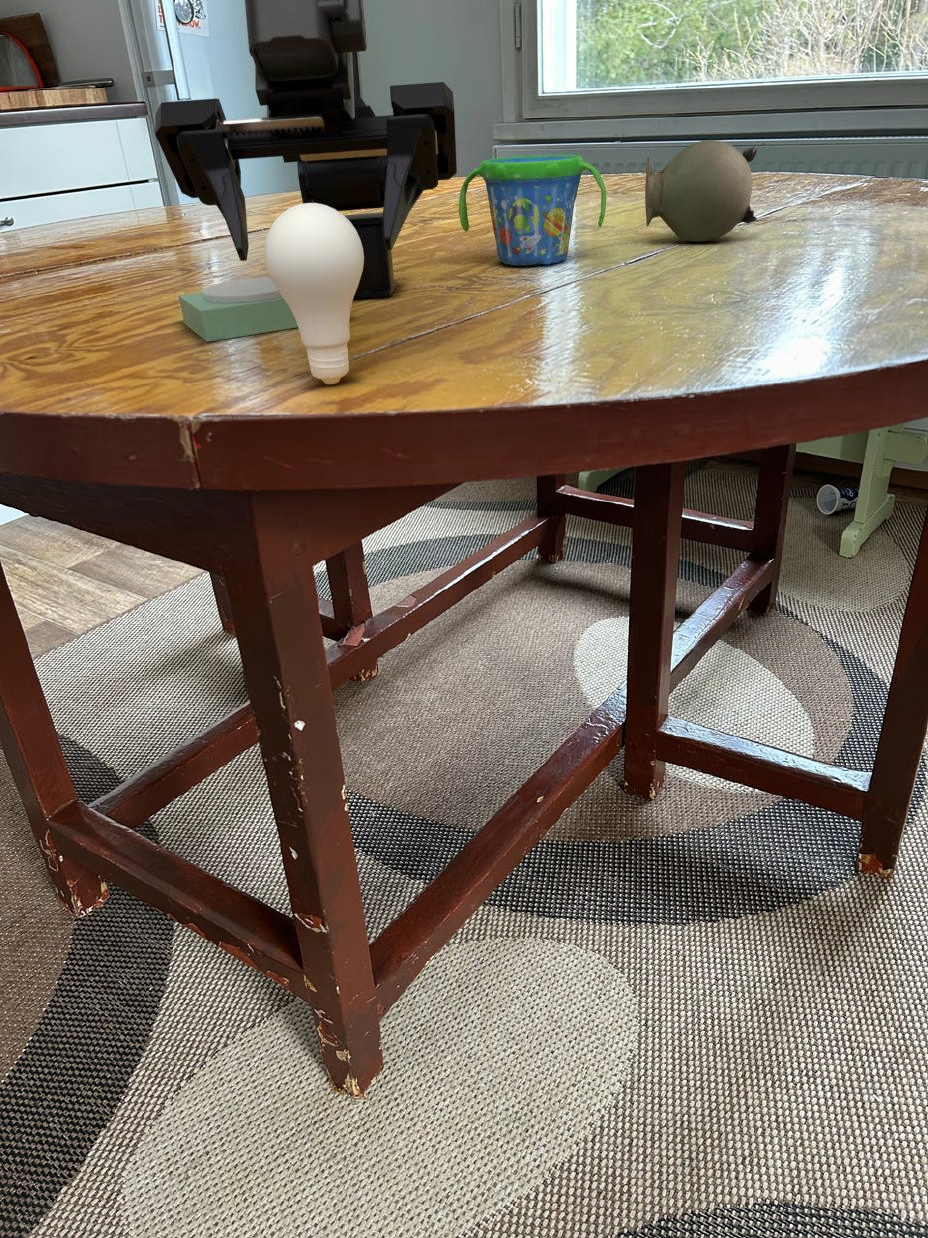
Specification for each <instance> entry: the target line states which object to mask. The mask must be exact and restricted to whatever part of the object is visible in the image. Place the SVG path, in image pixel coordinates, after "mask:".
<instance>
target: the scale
mask: <svg viewBox="0 0 928 1238" xmlns="http://www.w3.org/2000/svg"><path fill="white" fill-rule="evenodd" d="M178 301H179V306H180V311H181V314H182V319H183V324H184V325H185V326H186V327H187V328H189V329H190V330H191V331H192V332H194V333H195V334H196V335H197V336H198V337H200V338H201V339H203V340H204V341H205V342H206V343H211V342H217V341H222V340H223V341H224V340H228V339H229V340H230V339H235V338H241V337H248V336H253V335H259V334H265V333H273V332H279V331H285V330H290V329H298V325H297V322H296V319H295V317H294V315H293V313H292V311H291V309H290V307H289V305H288V304H287V302H286V301H285V300H284V298H283V297H282V296H281V294H280V293H279V291H278V290H277V288H276V286H275V285H274V283H273V282H272V280H271V278H270V276H268V277H254V278H244V279H237V280H231V281H225V282H220V283H216V284H212V285H209V286H207V287H205V288H203V289H202V290H201V291H199V292H192V293H191V292H190V293H185V294H179V295H178Z"/></svg>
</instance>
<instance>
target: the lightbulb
mask: <svg viewBox="0 0 928 1238" xmlns="http://www.w3.org/2000/svg"><path fill="white" fill-rule="evenodd" d="M344 215H345V214H343V213H341V211H337V210H335V209H333V208H331V207H329V206H327V205H323V204H318V203H304V204H303V203H300V204H297V205H294V206H292V207H289V208H287V209H286V210H284V211H283V212H282V213H280V215H279V216H278V217H277V218H275V220H274V221H273V223H272V224H271V226H270V228H269V230H268V232H267V235H266V237H265V243H264V253H263V254H264V255H263V256H264V265H265V269H266V270H267V274H268V277H270V278H271V280H272V282H273V283H274V285H275V286H276V288H277V290H278V291H279V293H280V294H281V296H282V297H283V298H284V300H285V301H286V302H287V304H288V305H289V307H290V309H291V311H292V313H293V315H294V317H295V319H296V322H297V325H298V327H297V329H298V330H299V336H300V340H301V343H302V345H303V346H304V347H305V348H306V354H307V358H308V359H307V360H308V365H309V369H310V373H311V375H312V377H313V378H315V379H317V380H321V381H322V383H324V384H325V385H334V384H338V383H339V382H340V380H341V379H342V378H343V377H345V376H347V374H348V373H349V371H350V367H349V366H350V365H349V364H350V361H349V349H348V342H350V338H351V336H350V335H351V334H350V316H351V309H352V304H353V300H354V298H353V297H354V295H355V292H356V290H357V287H358V284H359V281H360V278H361V275H362V271H363V264H364V253H363V247H362V244H361V240H360V238H359V236H358V233H357V231H356V229H355V228H354V226H353V225H352V224H351V222H350V221H349V220H348V219H347V218H346V217H345V216H344Z"/></svg>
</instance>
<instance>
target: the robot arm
mask: <svg viewBox="0 0 928 1238" xmlns="http://www.w3.org/2000/svg"><path fill="white" fill-rule="evenodd" d="M244 9H245V18H246V30H247V31H246V32H247V43H248V51H249V52H248V53H249V55H250V57H251V58H252V59H253V63H254V70H255V71H254V73H255V74H254V75H255V79H254V80H255V81H254V82H255V84H254V85H255V86H254V87H255V88H254V89H255V93H256V96H257V100H258V104H259V106H261V107H263V106H264V107H265V106H266V116H265V117H252V118H251V117H250V118H239V119H237V118H236V119H227V118H226V114H225V112H224V109H223V106H222V103H221V101H220V98H202V99H191V100H190V99H189V100H177V101H161V102H160V104H159V106H158V108H157V110H156V111H155V118H154V135H155V137H156V140H157V142H158V144H159V146H160V149H161V151H162V153H163V155H164V158H165V159H166V162H167V164H168V166H169V169H170V171H171V173H172V175H173V178H174V180H175V182H176V184H177V186H178V188H179V191H180V192H181V194H183V195H185V196H187V197H189V198H191V199H198V200H199V201H200V203H201V204H203V205H206V206H216V207H217V209H218V211H219V212H220V214H221V216H222V217H223V219H224V220H225V223H226V226H227V230H228V231H229V234H230V237H231V240H232V243H233V245H234V249H235V251H236V254H237V256H238V258H239V260H240V262H247V260H248V253H249V247H250V246H249V245H250V244H249V233H248V232H249V231H248V219H247V208H246V207H247V206H246V197H245V195H244V192H243V189H242V186H241V185H242V169H241V165H240V160H248V159H263V158H264V159H265V158H277V157H282V160H283V163H287V164H289V163H296V165H297V166H296V167H297V178H298V184H299V185H298V186H299V189H300V195H301V196H300V197H301V201H302V204H304V203H318V204H323V205H327V206H329V207H331V208H333V209H335V210H337V211H338V212H345V211H357V210H371V209H382V211H381V212H369V213H357V214H343V215H344V216H345V217H346V218H347V219H348V220H349V221H350V222H351V224H352V225H353V226H354V228H355V229H356V231H357V233H358V236H359V238H360V240H361V244H362V247H363V253H364V264H363V271H362V275H361V278H360V281H359V284H358V287H357V290H356V292H355V295H354V297H353V299H359V298H360V299H361V298H378V297H379V298H380V297H389V296H392V294H393V293H394V291H395V290H396V288H397V286H398V285H399V284H398V279H395V275H394V265H393V254H392V253H393V252H392V251H393V248H394V247H395V244H396V242H397V239H398V237H399V235H400V233H401V231H402V229H403V227H404V225H405V222H406V220H407V218H408V217H409V214H410V212H411V210H412V209H413V208H414V206H415V205H416V203H417V202H418V200H419V199H420V197H421V196H422V194H423V193H424V192H425V191H430V190H434V189H436V188H437V187H438V185H439V181H449V180H451V179H452V178H453V177H454V176H455V175H456V174H457V173H458V169H457V167H458V166H457V145H456V144H457V142H456V141H457V140H456V139H457V138H456V117H455V116H456V115H455V114H456V113H455V102H454V91H453V90H452V89H451V88H450V87H449V86H448V85H447V84H446V83H445V81H439V82H437V81H436V82H425V83H424V82H423V83H409V84H398V85H397V84H396V85H389V96H390V97H389V98H390V105H391V108H392V114H389V115H377V116H376V114H375V112H374V111H373V109H372V107H371V105H367V103H366V102H364V101H365V100H364V95H363V94H364V93H363V82H362V80H363V79H362V70H361V68H362V67H361V57H360V56H361V55H360V53H361V52H366V51H367V49H368V43H367V31H366V29H367V28H366V20H365V8H364V0H244Z"/></svg>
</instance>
